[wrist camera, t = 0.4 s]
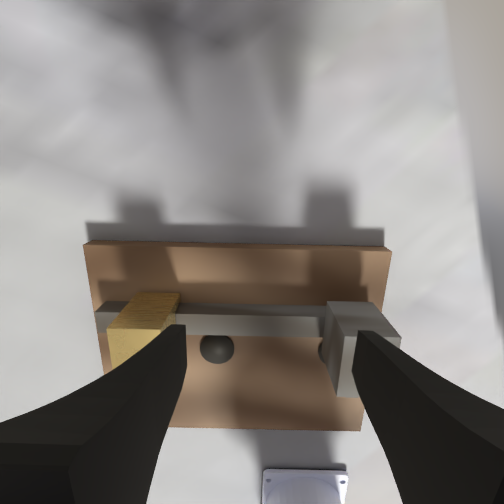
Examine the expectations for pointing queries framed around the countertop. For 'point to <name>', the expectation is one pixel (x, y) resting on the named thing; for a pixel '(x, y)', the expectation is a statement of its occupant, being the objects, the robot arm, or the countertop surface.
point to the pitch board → (258, 359)
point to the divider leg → (140, 323)
